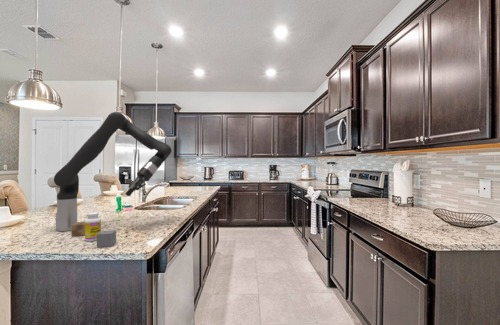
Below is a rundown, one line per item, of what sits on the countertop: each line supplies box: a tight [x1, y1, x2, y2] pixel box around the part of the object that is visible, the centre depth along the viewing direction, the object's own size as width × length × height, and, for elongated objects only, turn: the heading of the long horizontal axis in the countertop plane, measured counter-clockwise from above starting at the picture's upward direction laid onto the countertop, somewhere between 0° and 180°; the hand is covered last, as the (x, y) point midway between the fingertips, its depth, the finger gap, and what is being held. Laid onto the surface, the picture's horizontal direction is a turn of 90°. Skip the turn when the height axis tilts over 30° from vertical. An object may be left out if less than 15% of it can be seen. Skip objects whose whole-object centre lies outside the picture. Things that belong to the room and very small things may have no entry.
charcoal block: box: [96, 229, 117, 249], centre depth 114 cm, size 6×6×6 cm
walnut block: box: [71, 221, 85, 238], centre depth 130 cm, size 6×6×6 cm
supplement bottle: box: [84, 211, 102, 242], centre depth 122 cm, size 7×7×13 cm
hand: (127, 195), depth 135 cm, fingers closed
